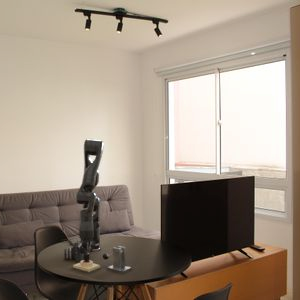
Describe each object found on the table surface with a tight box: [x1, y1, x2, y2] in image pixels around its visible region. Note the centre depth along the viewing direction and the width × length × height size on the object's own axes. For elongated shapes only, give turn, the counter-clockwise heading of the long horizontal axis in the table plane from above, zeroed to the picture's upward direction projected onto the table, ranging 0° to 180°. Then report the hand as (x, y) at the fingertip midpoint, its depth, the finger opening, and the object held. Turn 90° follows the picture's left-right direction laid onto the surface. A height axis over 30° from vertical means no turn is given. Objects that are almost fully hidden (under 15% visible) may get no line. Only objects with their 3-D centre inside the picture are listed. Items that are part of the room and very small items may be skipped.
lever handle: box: [102, 248, 123, 261], centre depth 206 cm, size 13×3×3 cm, turn 49°
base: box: [106, 245, 132, 273], centre depth 203 cm, size 10×8×12 cm
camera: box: [63, 239, 84, 262], centre depth 222 cm, size 14×11×10 cm
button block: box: [72, 259, 101, 273], centre depth 204 cm, size 11×9×4 cm
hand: (86, 261), depth 204 cm, fingers closed
